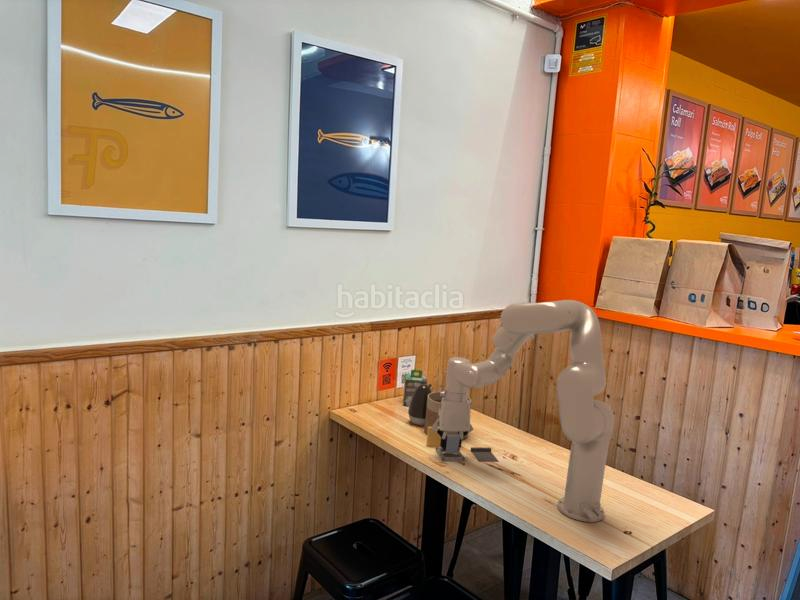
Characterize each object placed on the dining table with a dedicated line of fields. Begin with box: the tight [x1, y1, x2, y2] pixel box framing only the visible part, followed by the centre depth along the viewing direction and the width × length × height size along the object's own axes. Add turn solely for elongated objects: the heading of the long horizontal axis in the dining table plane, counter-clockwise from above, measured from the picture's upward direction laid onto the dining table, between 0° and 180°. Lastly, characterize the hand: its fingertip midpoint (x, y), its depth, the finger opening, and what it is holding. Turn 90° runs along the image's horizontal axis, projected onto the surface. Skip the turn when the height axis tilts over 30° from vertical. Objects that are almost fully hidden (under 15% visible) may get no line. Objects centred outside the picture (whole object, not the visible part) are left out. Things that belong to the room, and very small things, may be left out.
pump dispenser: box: [407, 383, 433, 426], centre depth 221 cm, size 10×10×15 cm
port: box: [426, 427, 466, 462], centre depth 194 cm, size 13×12×7 cm
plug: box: [444, 431, 460, 455], centre depth 192 cm, size 5×4×6 cm
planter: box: [424, 390, 472, 441], centre depth 211 cm, size 16×16×14 cm
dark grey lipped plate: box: [470, 446, 499, 463], centre depth 194 cm, size 9×7×2 cm
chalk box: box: [402, 369, 428, 407], centre depth 244 cm, size 9×9×15 cm
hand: (450, 448), depth 192 cm, fingers closed on plug, 4 cm apart
